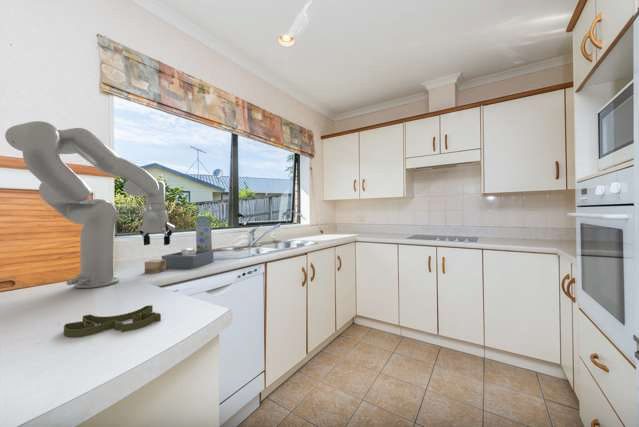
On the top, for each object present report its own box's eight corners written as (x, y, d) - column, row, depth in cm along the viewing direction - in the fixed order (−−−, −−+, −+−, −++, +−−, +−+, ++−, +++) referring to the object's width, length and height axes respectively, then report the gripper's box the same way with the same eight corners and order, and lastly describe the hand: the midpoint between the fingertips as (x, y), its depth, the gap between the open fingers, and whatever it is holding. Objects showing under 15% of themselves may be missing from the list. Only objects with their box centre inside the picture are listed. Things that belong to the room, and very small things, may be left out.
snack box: (195, 255, 170) (195, 215, 170) (210, 254, 174) (210, 215, 174) (195, 260, 150) (195, 215, 150) (212, 259, 154) (212, 215, 154)
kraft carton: (157, 273, 118) (157, 261, 118) (144, 273, 118) (144, 261, 118) (166, 270, 124) (166, 259, 124) (153, 270, 124) (153, 259, 124)
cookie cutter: (160, 310, 72) (160, 303, 72) (160, 326, 61) (160, 318, 61) (71, 325, 62) (71, 317, 62) (54, 346, 52) (54, 336, 52)
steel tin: (179, 263, 134) (179, 249, 134) (186, 261, 141) (186, 248, 141) (191, 263, 134) (191, 250, 134) (198, 261, 140) (198, 248, 141)
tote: (193, 268, 127) (193, 256, 127) (161, 268, 128) (161, 255, 128) (213, 261, 147) (213, 250, 147) (185, 261, 148) (185, 250, 148)
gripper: (131, 207, 118) (132, 246, 119) (168, 207, 117) (169, 245, 117) (144, 207, 126) (145, 243, 126) (178, 207, 125) (179, 243, 125)
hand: (156, 244), depth 122 cm, fingers open, 9 cm apart
